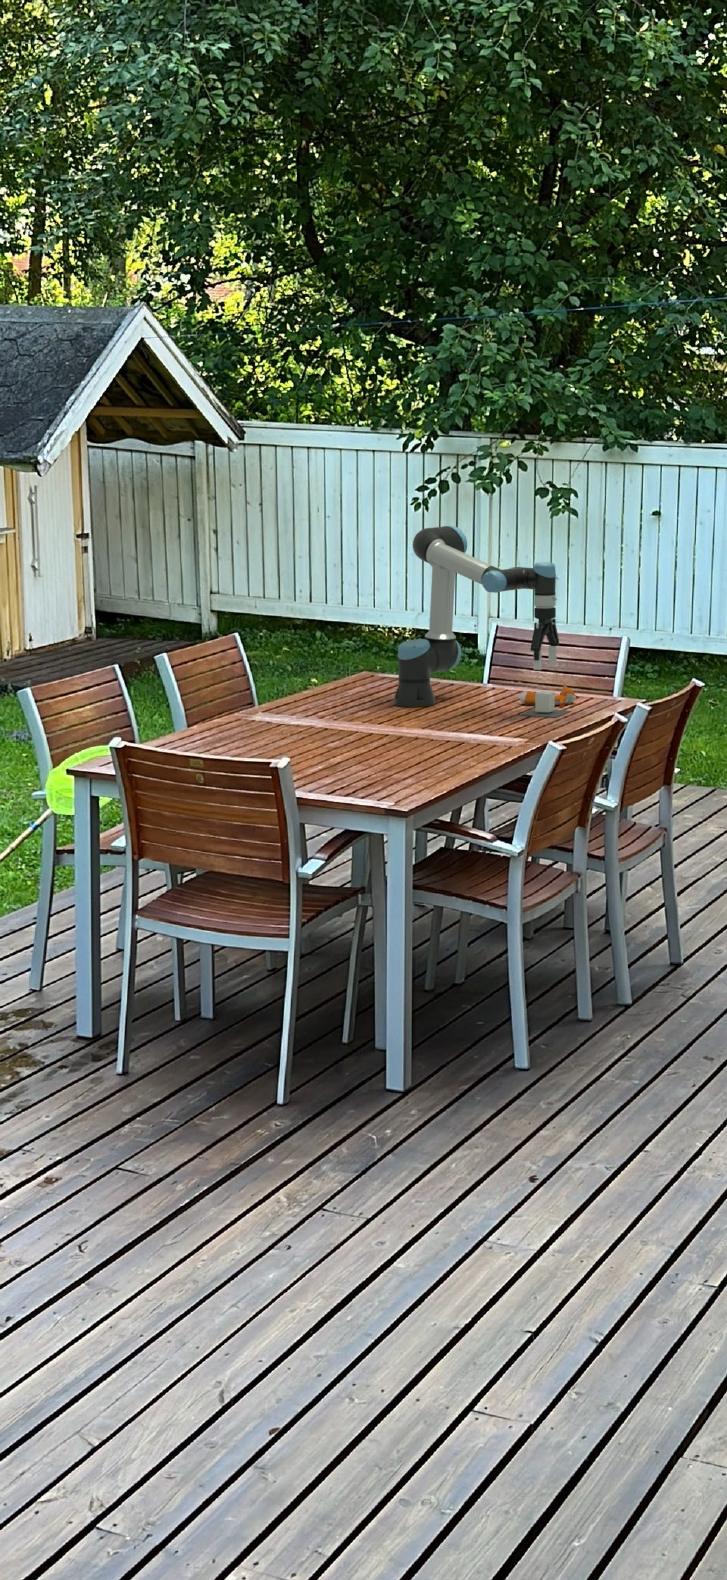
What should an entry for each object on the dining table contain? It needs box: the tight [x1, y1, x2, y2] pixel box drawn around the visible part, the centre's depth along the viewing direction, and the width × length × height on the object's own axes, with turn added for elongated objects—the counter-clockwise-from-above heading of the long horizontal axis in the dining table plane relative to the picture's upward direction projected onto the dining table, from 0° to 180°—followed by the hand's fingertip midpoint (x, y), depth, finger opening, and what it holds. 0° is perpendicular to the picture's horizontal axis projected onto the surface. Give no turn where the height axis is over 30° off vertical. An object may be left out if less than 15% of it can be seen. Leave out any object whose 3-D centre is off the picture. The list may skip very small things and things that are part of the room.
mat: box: [518, 708, 572, 719], centre depth 639 cm, size 14×14×1 cm
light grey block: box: [534, 690, 556, 712], centre depth 638 cm, size 5×5×7 cm
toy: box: [516, 681, 578, 709], centre depth 657 cm, size 8×22×15 cm
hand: (545, 667), depth 635 cm, fingers open, 13 cm apart
